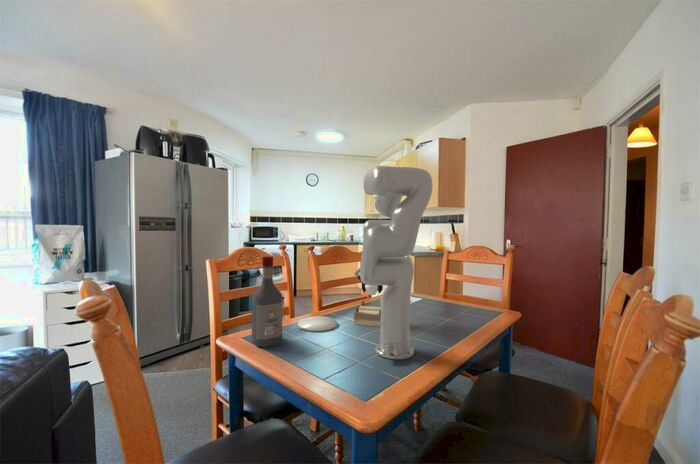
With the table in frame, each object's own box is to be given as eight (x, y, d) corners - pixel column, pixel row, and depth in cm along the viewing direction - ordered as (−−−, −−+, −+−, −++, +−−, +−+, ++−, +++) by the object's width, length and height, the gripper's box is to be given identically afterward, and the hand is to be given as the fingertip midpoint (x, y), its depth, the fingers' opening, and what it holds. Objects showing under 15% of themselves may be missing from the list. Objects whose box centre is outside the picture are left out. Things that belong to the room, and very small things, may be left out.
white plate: (328, 334, 113) (328, 330, 113) (290, 329, 118) (290, 326, 118) (341, 321, 129) (341, 318, 129) (307, 317, 133) (307, 314, 133)
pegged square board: (382, 327, 122) (382, 310, 121) (354, 324, 125) (354, 307, 125) (387, 318, 133) (387, 303, 133) (361, 315, 137) (361, 300, 136)
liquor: (284, 343, 104) (285, 257, 103) (258, 349, 99) (258, 258, 98) (274, 335, 111) (275, 255, 111) (250, 340, 106) (250, 256, 105)
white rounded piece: (367, 292, 132) (367, 276, 132) (381, 293, 129) (381, 277, 129) (362, 295, 126) (362, 278, 126) (376, 296, 123) (376, 279, 124)
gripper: (393, 250, 129) (393, 291, 129) (355, 249, 134) (355, 289, 134) (391, 250, 122) (390, 294, 122) (350, 250, 127) (350, 292, 127)
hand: (372, 291), depth 128 cm, fingers closed on white rounded piece, 6 cm apart
